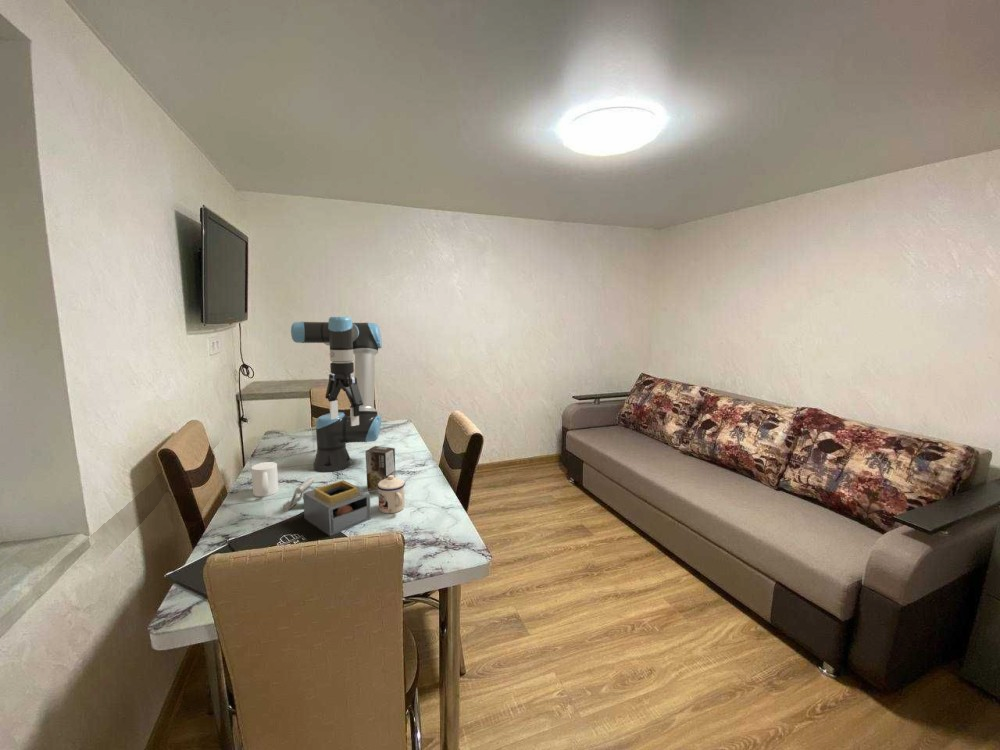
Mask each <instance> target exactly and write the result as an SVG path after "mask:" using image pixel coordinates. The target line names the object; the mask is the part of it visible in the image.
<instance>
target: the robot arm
mask: <svg viewBox="0 0 1000 750" xmlns="http://www.w3.org/2000/svg"><path fill="white" fill-rule="evenodd" d="M352 320H353V319H352V317H350V316H330V317H329V318H328V321H294V322H293V323H292V325H291V327H290V335H291V338H292V339H291V340H292V341H293V342H294V343H298V344H309V343H310V344H324V345H326V346H329V358H330V359H329V360H330V362H331V363H330V366H329V367H330V374H328V383H327V387H326V393H325V400H328V402H329V403H328V404H329V413H325V414H322V415H321V416H319V417H316V420H315V432H316V435H315V436H316V447H317V448H316V450H317V451H316V454H315V457H314V459H313V469H314V470H315V471H317V472H321V473H322V472H323V473H330V472H337V471H341V470H345V469H346V468H349V467H350V466H351V464H352V462H351V457H350V455H349V452H348V450H347V445H346V443H349V444H351V443H370V442H371V443H372V442H376V441H377V440H378V438H379V435H380V432H381V426H382V425H381V424H382V416H381V415H380V414H378V410H377V409H376V408H375V368H376V367H375V362H376V361H375V359H376V358H375V357H376V355H377V354H378V353H379V350H380V349H382V346H383V345H382V344H383V343H382V336H381V330H380V327H379V325H378V323H374V322H368V321H367V322H353V321H352ZM353 361H354V362H353ZM352 373H354V376H351V374H352ZM341 390H342V391H343V392H345V395H346V397H347V398H348V402H350V407H349V410H350V411H349V415H346V414H345V412H344V411H343V412H341V411H339V405H338V403H339V402H338V401H339V400H338V396H339V394H340V392H341Z"/></svg>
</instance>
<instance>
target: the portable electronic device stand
mask: <svg viewBox="0 0 1000 750" xmlns="http://www.w3.org/2000/svg"><path fill="white" fill-rule="evenodd" d="M314 482H315V481H314V479H313V478H311V477H310V478H308V479H307V480H305V481H304V482H303V483H302V484H300V485H299V486H298V487H297V488H295V490H294V493H293V495H292V497H291V500H288V501H286V502H285V503H284V504H283V505H282V510H283V511H285V512H288V511H289V510H291V509H292V507H293V506H294V505H296V504H297V503H298V502H299V501H301V500H302V499H303V493H305V492H308V491H310V489H309V487H310V486H312V485H313V484H314ZM298 495H299V496H298Z"/></svg>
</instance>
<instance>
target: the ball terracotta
mask: <svg viewBox="0 0 1000 750" xmlns="http://www.w3.org/2000/svg"><path fill="white" fill-rule="evenodd" d="M350 511H353V509H352V507H351V506H349V505H344V506H341V507H340V508H339V509H338V511H337V516H340V515H342V514H345V513H347V512H350Z"/></svg>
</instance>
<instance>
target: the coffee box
mask: <svg viewBox="0 0 1000 750" xmlns="http://www.w3.org/2000/svg"><path fill="white" fill-rule="evenodd" d="M395 449H396V448H395V447H385V446H377V445H374V446H372V447H370V448H369V449H367V450H365V468H366V469H365V470H366V472H365V473H366V487H367V489H366V491H367V492H369V493H370V492H371V493H375V494H376V493H377V494H378V487H377V486H378V483H379V482H380V481H382V480H384V479H387V478H388V476H389V475H393V476H394V477H395V478H397V477H396V452H395V451H396V450H395Z"/></svg>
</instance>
